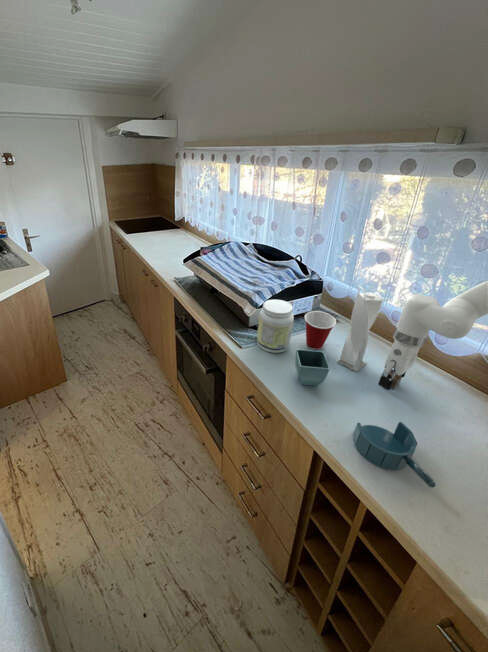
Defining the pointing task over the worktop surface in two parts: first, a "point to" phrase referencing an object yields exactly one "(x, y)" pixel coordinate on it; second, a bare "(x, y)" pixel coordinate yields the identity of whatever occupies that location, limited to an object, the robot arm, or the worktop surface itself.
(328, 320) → the plastic cup
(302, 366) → the flower pot
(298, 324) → the worktop surface
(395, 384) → the block
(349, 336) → the skyscraper
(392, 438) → the teal handled scoop
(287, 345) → the supplement tub
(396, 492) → the worktop surface
